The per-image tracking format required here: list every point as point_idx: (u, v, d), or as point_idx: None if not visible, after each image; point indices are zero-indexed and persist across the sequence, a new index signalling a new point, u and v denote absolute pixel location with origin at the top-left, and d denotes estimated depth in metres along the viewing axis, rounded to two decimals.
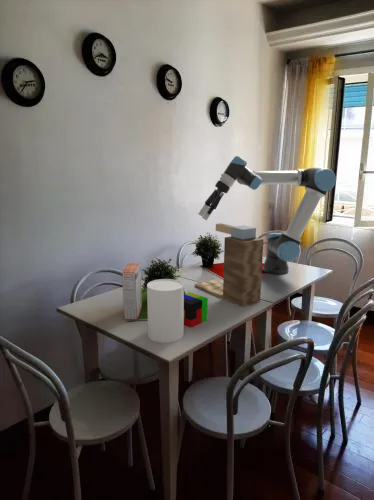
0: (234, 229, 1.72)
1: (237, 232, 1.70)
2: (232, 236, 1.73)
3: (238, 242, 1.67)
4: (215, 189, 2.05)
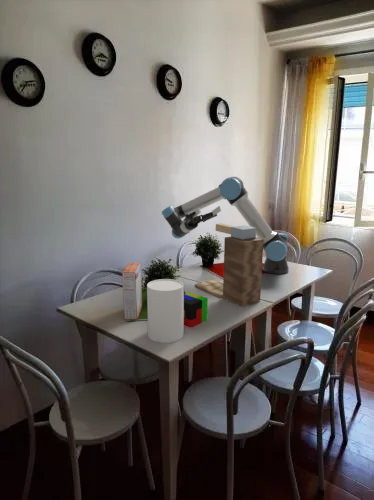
0: (234, 229, 1.72)
1: (237, 232, 1.70)
2: (232, 236, 1.73)
3: (238, 242, 1.67)
4: None
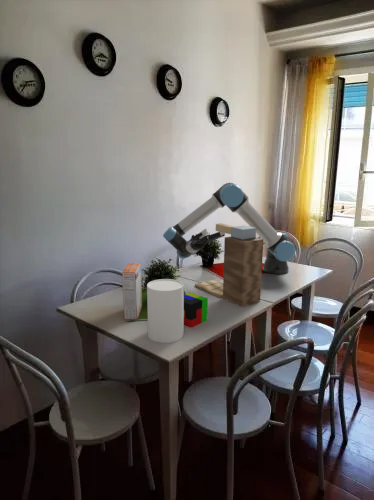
0: (234, 229, 1.72)
1: (237, 232, 1.70)
2: (232, 236, 1.73)
3: (238, 242, 1.67)
4: None
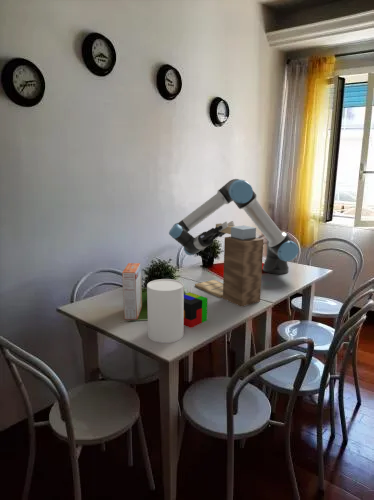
0: (234, 229, 1.72)
1: (237, 232, 1.70)
2: (232, 236, 1.73)
3: (238, 242, 1.67)
4: None
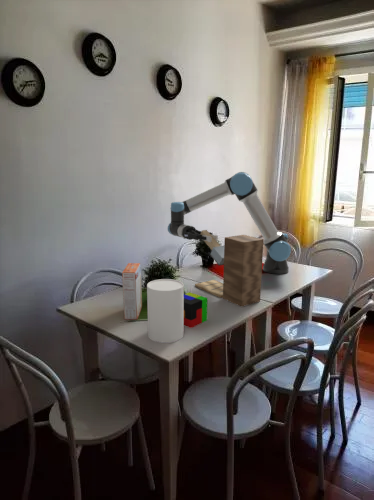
0: (215, 251, 1.85)
1: (216, 255, 1.85)
2: (211, 255, 1.88)
3: (238, 242, 1.67)
4: None
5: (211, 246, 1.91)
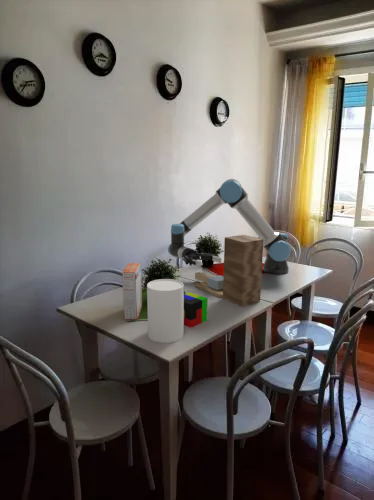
0: (210, 280, 1.91)
1: (212, 283, 1.90)
2: (208, 286, 1.93)
3: (238, 242, 1.67)
4: None
5: (207, 280, 1.98)
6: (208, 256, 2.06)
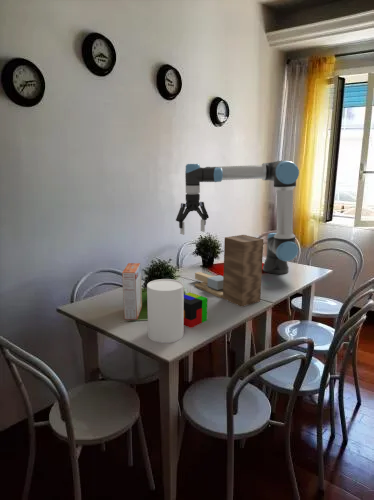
0: (210, 280, 1.91)
1: (212, 283, 1.90)
2: (208, 286, 1.93)
3: (238, 242, 1.67)
4: None
5: (207, 280, 1.98)
6: (201, 215, 2.06)
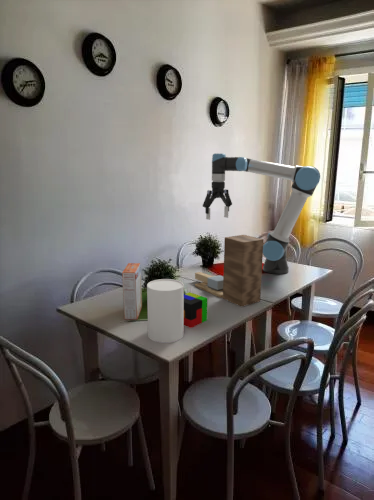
0: (210, 280, 1.91)
1: (212, 283, 1.90)
2: (208, 286, 1.93)
3: (238, 242, 1.67)
4: None
5: (207, 280, 1.98)
6: (225, 202, 2.20)
